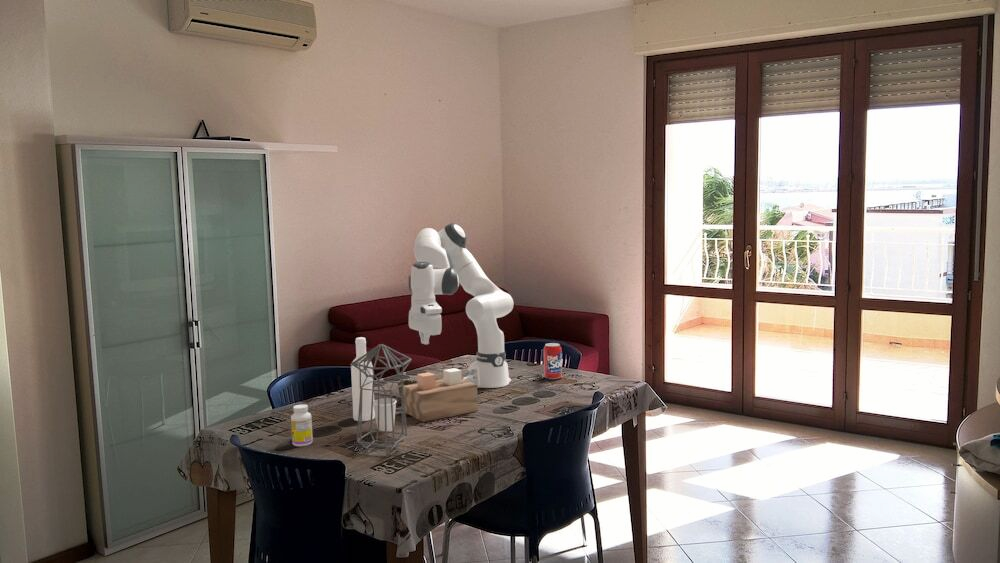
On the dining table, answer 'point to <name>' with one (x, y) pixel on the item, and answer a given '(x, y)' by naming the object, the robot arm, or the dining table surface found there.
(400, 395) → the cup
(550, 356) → the soda can
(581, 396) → the dining table surface
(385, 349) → the geometric lantern
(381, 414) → the dixie cup
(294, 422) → the supplement bottle
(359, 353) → the bottle
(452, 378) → the white rectangular block
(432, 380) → the peg terracotta
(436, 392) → the light wood block
